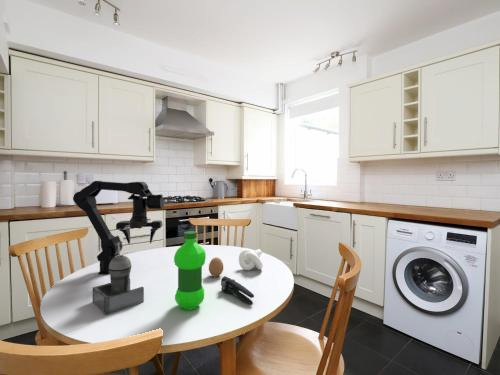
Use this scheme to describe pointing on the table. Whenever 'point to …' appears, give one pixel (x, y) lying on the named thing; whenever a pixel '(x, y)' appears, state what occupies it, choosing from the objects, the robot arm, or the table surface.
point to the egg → (216, 266)
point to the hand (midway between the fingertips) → (140, 243)
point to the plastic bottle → (190, 272)
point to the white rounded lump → (250, 259)
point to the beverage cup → (119, 273)
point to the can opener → (236, 289)
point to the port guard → (116, 298)
